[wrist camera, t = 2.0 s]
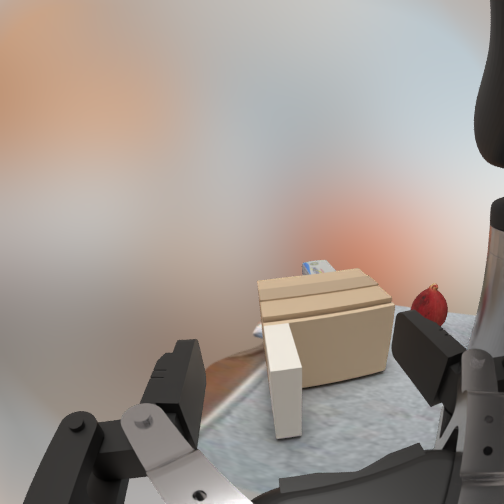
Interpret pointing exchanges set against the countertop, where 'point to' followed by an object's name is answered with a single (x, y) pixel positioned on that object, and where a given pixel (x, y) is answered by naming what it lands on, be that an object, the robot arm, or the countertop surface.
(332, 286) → the kraft carton
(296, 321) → the carton flap
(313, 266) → the medicine box
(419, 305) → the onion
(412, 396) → the countertop surface
